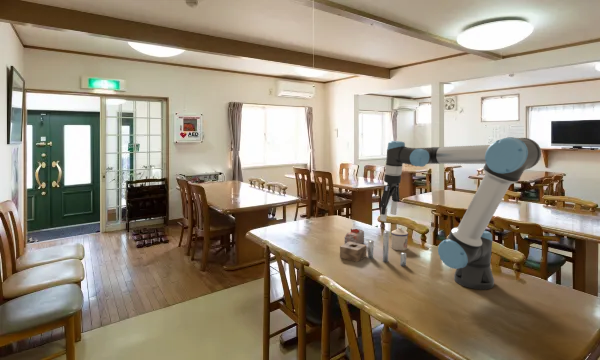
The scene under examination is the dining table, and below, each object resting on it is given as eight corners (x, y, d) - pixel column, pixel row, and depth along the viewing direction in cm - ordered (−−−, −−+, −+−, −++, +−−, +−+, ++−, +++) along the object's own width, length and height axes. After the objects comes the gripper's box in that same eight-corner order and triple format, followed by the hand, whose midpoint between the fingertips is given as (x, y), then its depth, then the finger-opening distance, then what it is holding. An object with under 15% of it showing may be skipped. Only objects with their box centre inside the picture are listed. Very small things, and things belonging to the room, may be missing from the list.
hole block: (366, 256, 176) (366, 245, 175) (357, 261, 168) (357, 250, 167) (349, 252, 182) (349, 241, 181) (339, 257, 174) (340, 246, 173)
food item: (356, 250, 185) (357, 233, 184) (343, 247, 189) (343, 230, 188) (365, 243, 197) (365, 227, 195) (352, 241, 201) (352, 225, 200)
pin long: (388, 261, 169) (389, 232, 167) (386, 262, 167) (387, 233, 165) (384, 259, 170) (384, 231, 168) (381, 261, 168) (382, 232, 166)
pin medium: (374, 257, 173) (374, 240, 172) (371, 259, 171) (372, 242, 170) (369, 256, 175) (369, 239, 174) (367, 258, 173) (367, 241, 172)
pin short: (406, 265, 163) (407, 253, 163) (404, 266, 161) (405, 254, 161) (401, 263, 165) (401, 252, 164) (399, 265, 163) (399, 253, 162)
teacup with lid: (407, 251, 182) (408, 230, 181) (390, 249, 186) (390, 229, 184) (408, 244, 194) (409, 225, 192) (392, 243, 197) (392, 223, 195)
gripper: (394, 169, 170) (389, 210, 174) (375, 176, 149) (370, 221, 154) (409, 172, 165) (404, 213, 170) (391, 179, 145) (386, 225, 150)
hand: (388, 217), depth 162 cm, fingers open, 13 cm apart
